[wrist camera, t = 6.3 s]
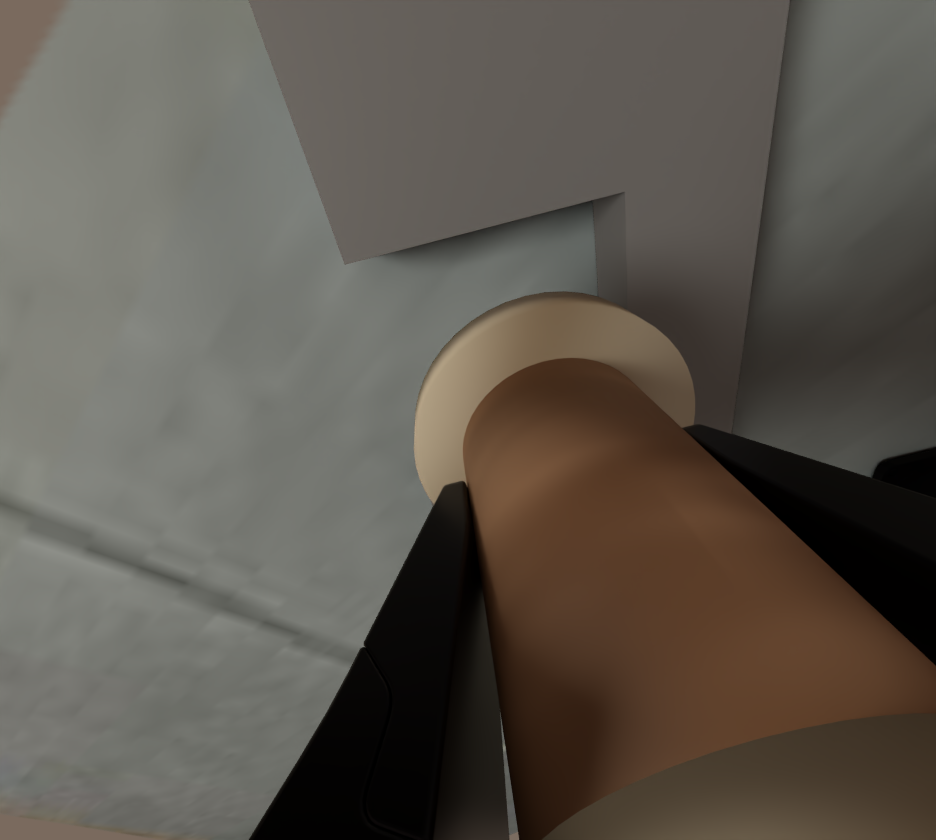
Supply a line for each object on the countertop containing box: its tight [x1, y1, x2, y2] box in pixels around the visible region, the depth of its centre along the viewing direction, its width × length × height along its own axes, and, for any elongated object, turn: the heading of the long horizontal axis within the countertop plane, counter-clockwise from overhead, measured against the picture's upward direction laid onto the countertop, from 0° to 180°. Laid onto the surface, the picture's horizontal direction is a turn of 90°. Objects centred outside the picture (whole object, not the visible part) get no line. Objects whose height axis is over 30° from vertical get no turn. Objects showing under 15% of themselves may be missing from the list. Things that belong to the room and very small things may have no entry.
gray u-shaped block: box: [249, 0, 790, 506], centre depth 14 cm, size 12×20×2 cm, turn 13°
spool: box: [414, 292, 936, 840], centre depth 6 cm, size 6×6×8 cm
